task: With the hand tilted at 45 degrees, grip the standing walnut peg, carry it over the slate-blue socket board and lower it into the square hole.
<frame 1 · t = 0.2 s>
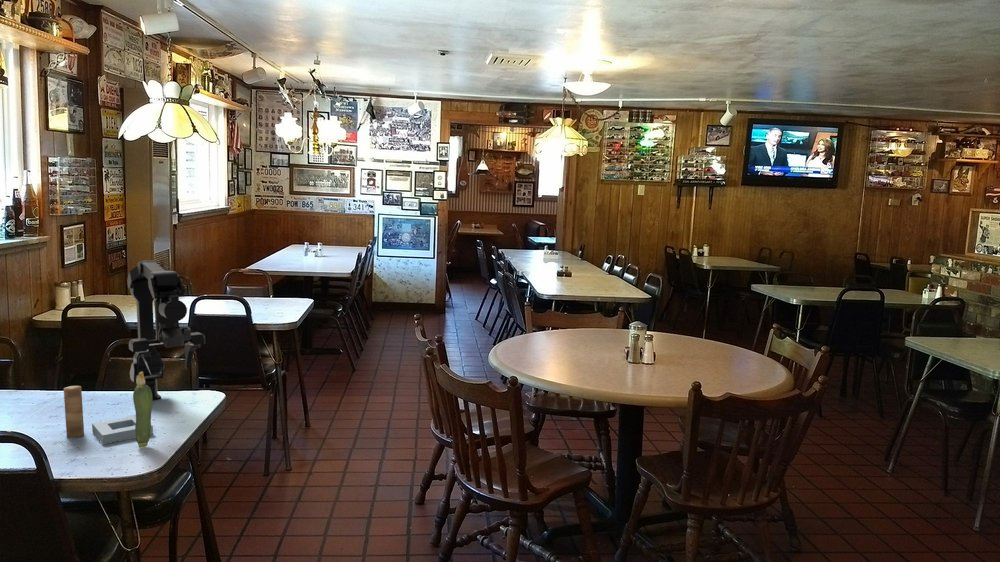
hand: (169, 372, 198), 14 cm above the table, tool pointing down, fingers open, 9 cm apart
socket: (122, 433, 190), on the table
peg: (75, 435, 188), on the table
vegetable: (145, 447, 181), on the table
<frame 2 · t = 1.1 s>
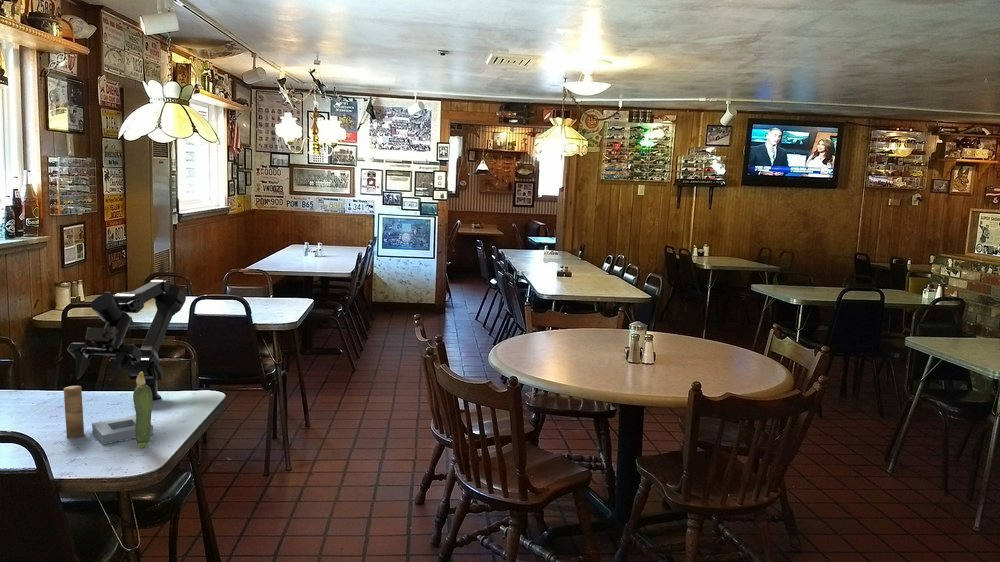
hand: (93, 378, 194), 13 cm above the table, tool tilted 45°, fingers open, 9 cm apart
nothing on the table moved.
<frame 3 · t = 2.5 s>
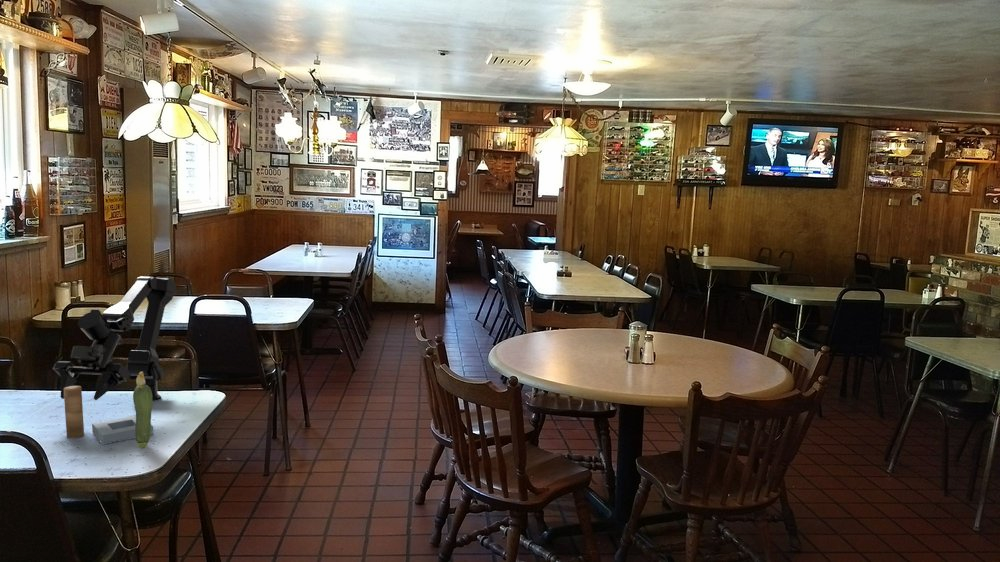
hand: (78, 398, 189), 9 cm above the table, tool tilted 45°, fingers open, 9 cm apart
nothing on the table moved.
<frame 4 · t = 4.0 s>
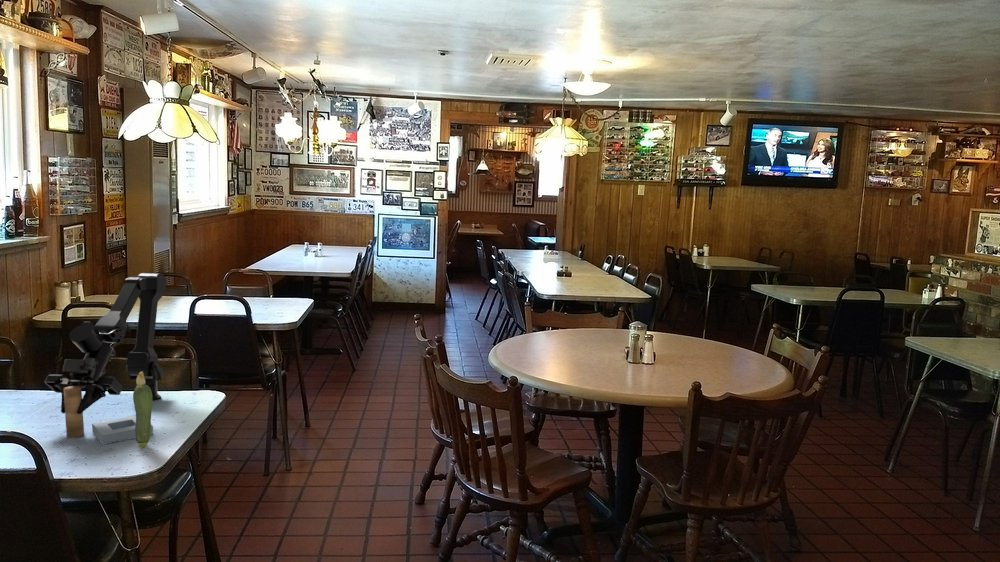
hand: (70, 413, 186), 7 cm above the table, tool tilted 45°, fingers closed on peg, 4 cm apart
peg: (75, 435, 188), on the table, touching gripper
everything else where it was.
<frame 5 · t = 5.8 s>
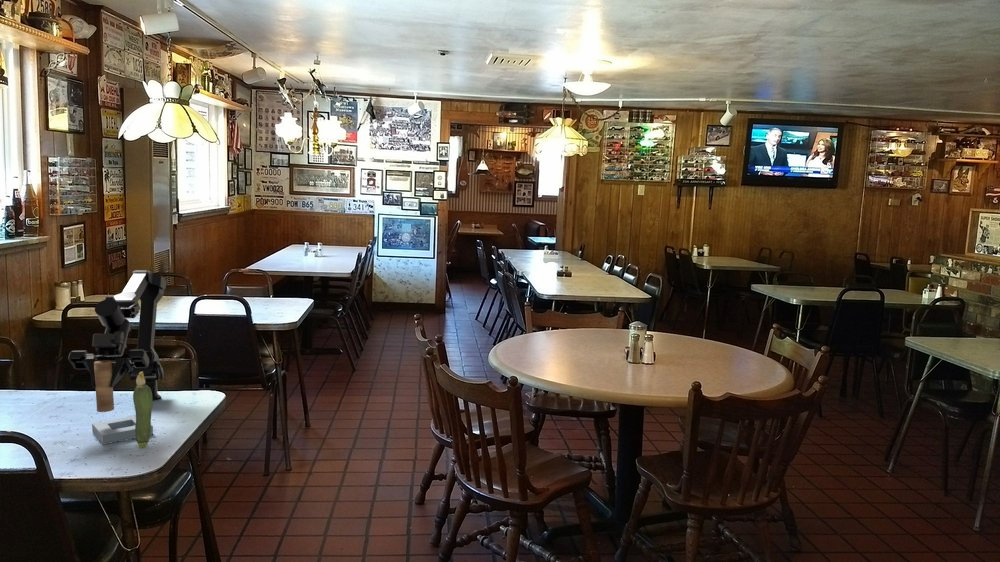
hand: (102, 387, 186), 13 cm above the table, tool tilted 45°, fingers closed on peg, 4 cm apart
peg: (105, 409, 188), point 7 cm above the table, touching gripper
everything else where it was.
when the fingers open (7 cm above the table, at t = 7.8 s): peg stays where it is, resting in socket.
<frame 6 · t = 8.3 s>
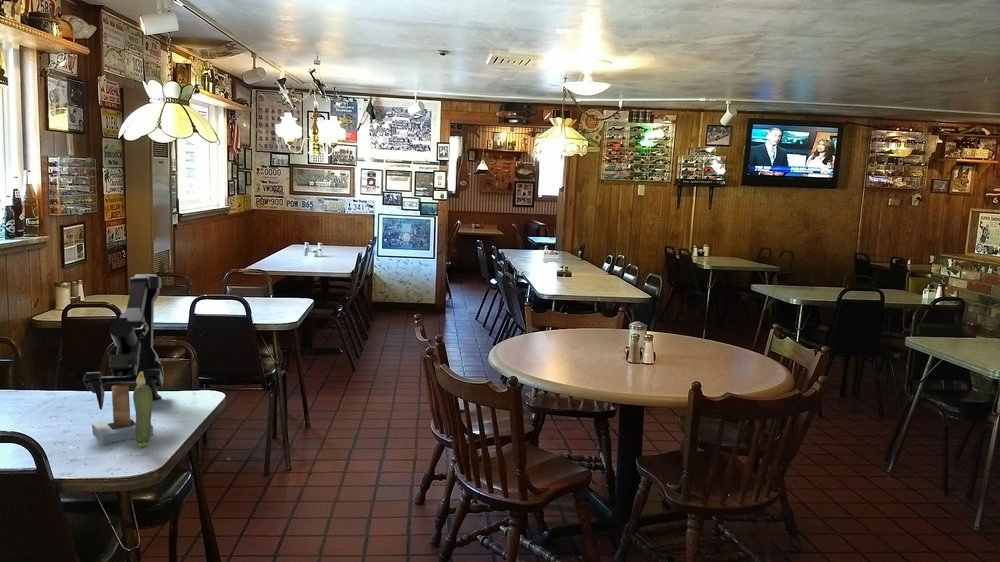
hand: (119, 407, 188), 8 cm above the table, tool tilted 45°, fingers open, 9 cm apart
peg: (122, 433, 190), resting in socket
everything else where it was.
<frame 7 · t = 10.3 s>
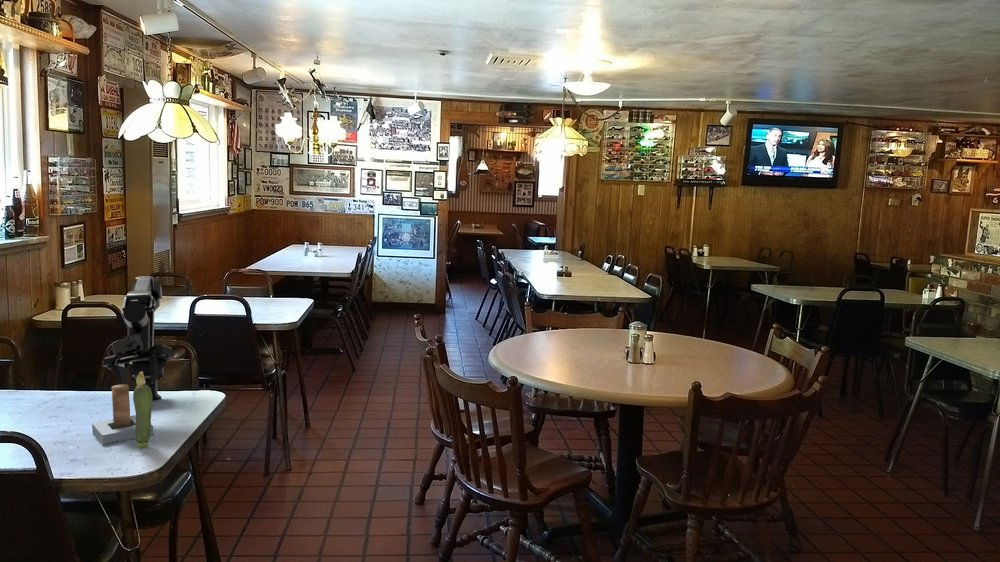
hand: (138, 386, 200), 10 cm above the table, tool tilted 30°, fingers open, 9 cm apart
nothing on the table moved.
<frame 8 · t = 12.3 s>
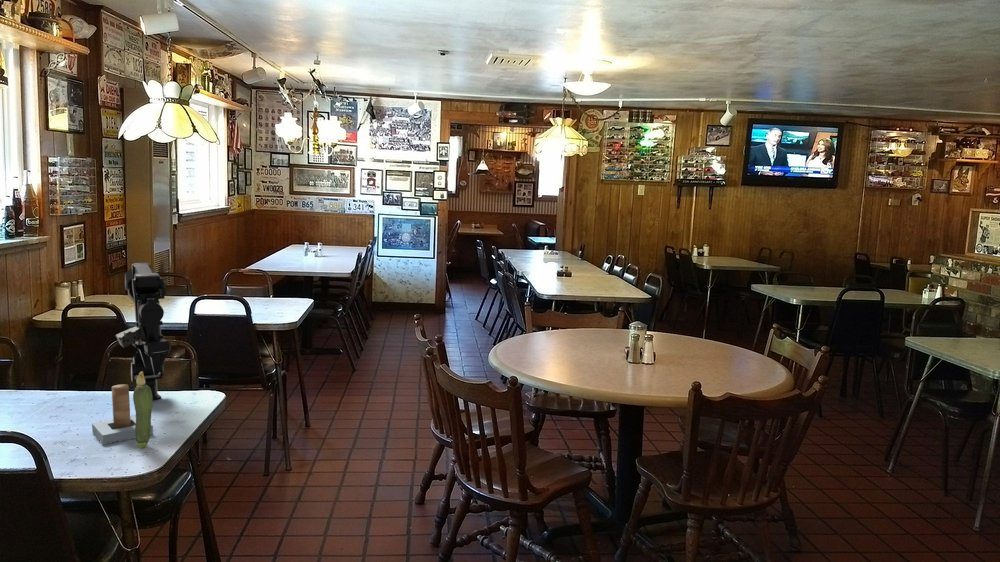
hand: (151, 370, 205), 13 cm above the table, tool pointing down, fingers open, 9 cm apart
nothing on the table moved.
at the end: peg 0.0 cm off-centre on the socket, point 0.0 cm above the socket's base; peg tilted 0°; the gripper is holding nothing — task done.
